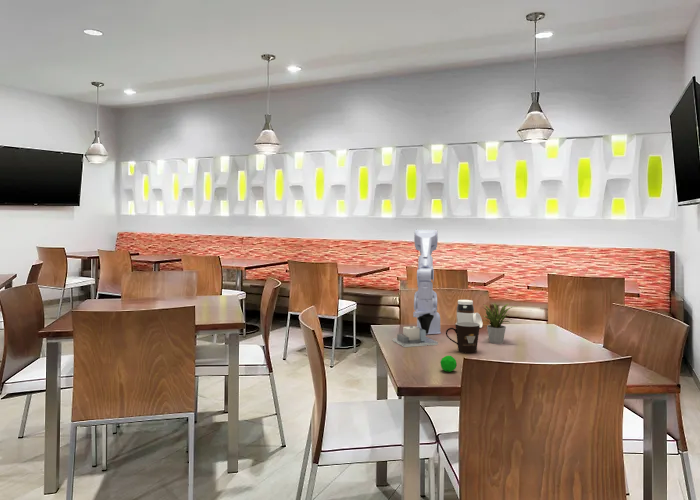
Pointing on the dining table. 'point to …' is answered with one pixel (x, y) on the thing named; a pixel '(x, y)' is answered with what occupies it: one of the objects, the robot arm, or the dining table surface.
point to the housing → (412, 332)
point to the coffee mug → (466, 336)
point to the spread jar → (467, 312)
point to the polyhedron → (448, 363)
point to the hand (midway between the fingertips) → (425, 333)
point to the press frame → (412, 341)
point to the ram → (422, 334)
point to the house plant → (496, 324)
